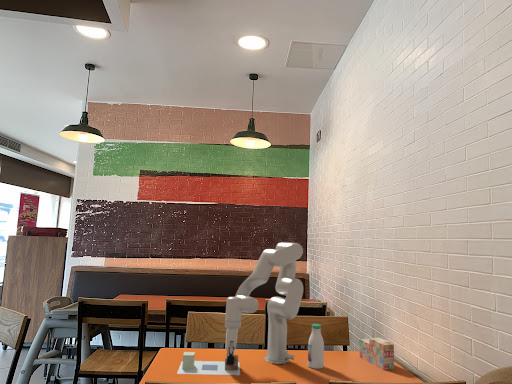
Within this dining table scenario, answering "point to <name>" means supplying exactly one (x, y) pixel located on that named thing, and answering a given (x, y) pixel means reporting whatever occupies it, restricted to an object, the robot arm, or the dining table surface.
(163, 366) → the dining table surface
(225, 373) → the board
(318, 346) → the milk bottle
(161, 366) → the dining table surface
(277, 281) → the robot arm
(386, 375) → the dining table surface
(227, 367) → the walnut block
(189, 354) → the sage block
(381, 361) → the stack of blocks
